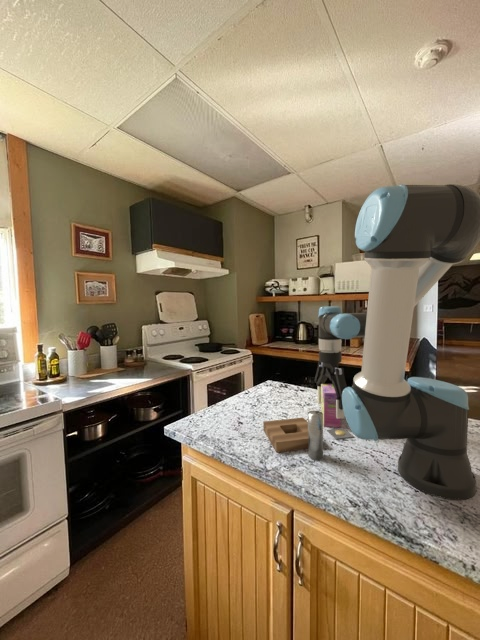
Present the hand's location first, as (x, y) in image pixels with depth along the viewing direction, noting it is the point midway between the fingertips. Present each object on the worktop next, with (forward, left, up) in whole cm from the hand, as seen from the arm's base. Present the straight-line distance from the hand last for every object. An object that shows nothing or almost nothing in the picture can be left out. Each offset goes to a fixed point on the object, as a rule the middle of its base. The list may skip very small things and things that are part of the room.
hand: (330, 410), depth 99 cm
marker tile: (-10, +2, -4) cm, 11 cm away
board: (-9, +18, -4) cm, 20 cm away
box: (0, 0, -4) cm, 4 cm away
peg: (-20, +15, -4) cm, 25 cm away
